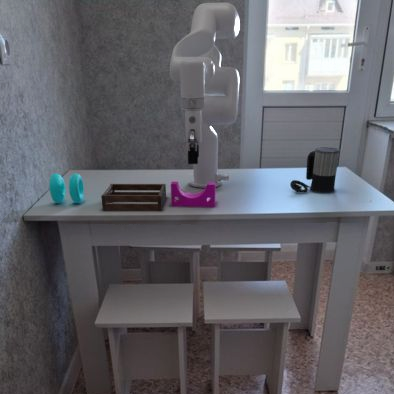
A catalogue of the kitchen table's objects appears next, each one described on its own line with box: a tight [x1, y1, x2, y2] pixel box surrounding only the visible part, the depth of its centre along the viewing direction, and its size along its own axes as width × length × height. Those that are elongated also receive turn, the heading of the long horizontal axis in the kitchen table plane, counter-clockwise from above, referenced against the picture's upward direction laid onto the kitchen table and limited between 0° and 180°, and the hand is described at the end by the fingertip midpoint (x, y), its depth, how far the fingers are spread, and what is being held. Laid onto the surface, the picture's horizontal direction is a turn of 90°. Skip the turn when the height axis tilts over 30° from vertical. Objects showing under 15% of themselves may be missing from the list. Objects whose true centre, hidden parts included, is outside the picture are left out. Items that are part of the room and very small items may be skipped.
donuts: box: [49, 173, 85, 204], centre depth 171 cm, size 10×10×10 cm
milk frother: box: [289, 146, 341, 194], centre depth 182 cm, size 14×16×15 cm
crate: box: [100, 183, 167, 212], centre depth 171 cm, size 20×17×5 cm
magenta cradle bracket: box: [170, 181, 217, 208], centre depth 170 cm, size 15×6×8 cm, turn 85°
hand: (193, 160), depth 164 cm, fingers open, 9 cm apart
